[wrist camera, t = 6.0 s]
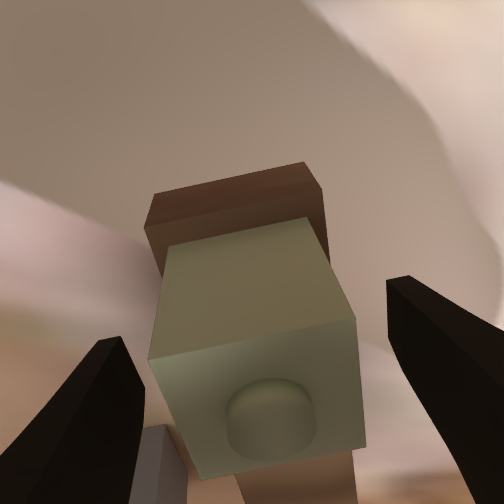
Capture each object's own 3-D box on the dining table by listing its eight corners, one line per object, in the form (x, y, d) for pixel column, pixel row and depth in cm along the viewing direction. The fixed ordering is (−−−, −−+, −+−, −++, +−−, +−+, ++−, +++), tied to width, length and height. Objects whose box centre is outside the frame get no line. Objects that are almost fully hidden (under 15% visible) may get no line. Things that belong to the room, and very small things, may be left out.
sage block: (321, 324, 14) (375, 471, 9) (203, 348, 14) (200, 506, 9) (306, 216, 12) (366, 338, 7) (168, 246, 12) (143, 385, 7)
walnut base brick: (343, 455, 21) (358, 504, 19) (249, 474, 21) (253, 525, 19) (303, 161, 13) (321, 188, 11) (154, 194, 13) (143, 227, 11)
